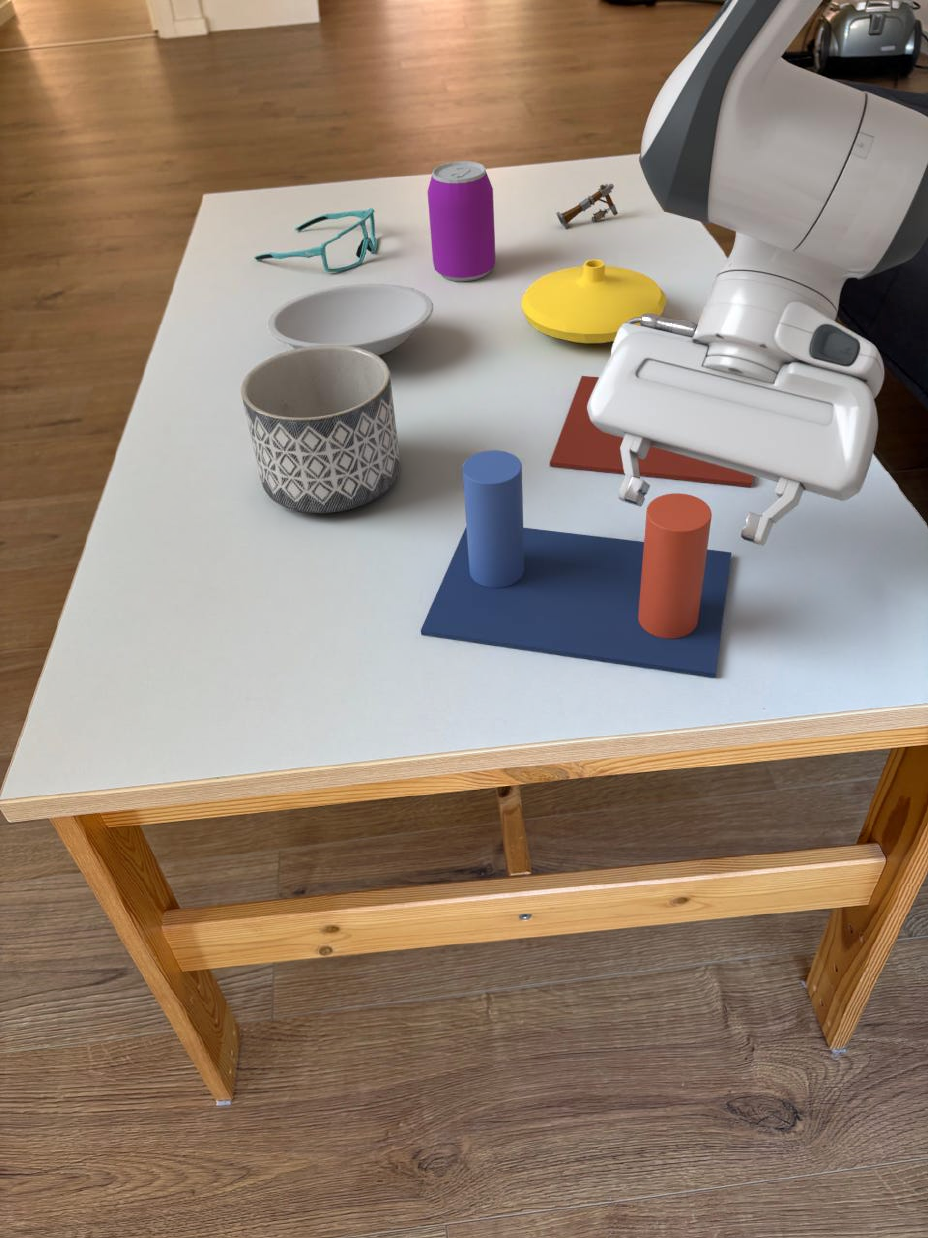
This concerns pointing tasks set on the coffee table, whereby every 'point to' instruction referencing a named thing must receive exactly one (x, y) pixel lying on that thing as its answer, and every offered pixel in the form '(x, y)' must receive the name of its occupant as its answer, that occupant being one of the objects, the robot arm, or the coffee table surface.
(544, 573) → the blue mat
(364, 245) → the sunglasses
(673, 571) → the red peg
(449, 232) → the beverage can
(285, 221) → the coffee table surface
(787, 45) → the robot arm
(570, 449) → the red mat
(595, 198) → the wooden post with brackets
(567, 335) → the vase
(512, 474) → the blue peg
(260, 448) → the planter
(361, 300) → the dish
